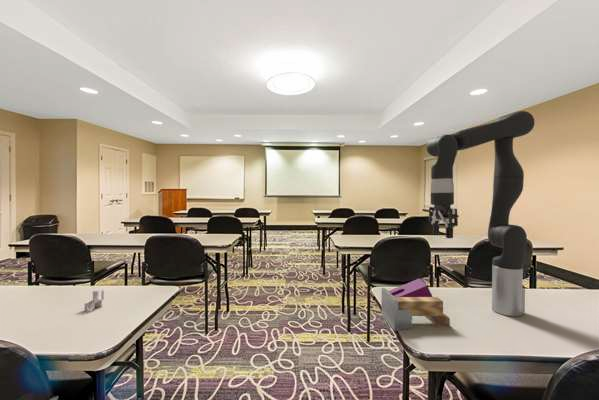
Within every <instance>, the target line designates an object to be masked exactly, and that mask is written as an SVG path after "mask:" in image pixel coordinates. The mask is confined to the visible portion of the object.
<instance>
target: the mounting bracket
mask: <svg viewBox="0 0 599 400" xmlns="http://www.w3.org/2000/svg"><path fill="white" fill-rule="evenodd" d="M388 291H389V292H390V293H391V294H392V295H393V296H394V297H433V295H432V293H431V291H430V289H429V287H428V285H427V284H426V283H425V282H424V281H423V280H422V279H421V278H416V279H415V280H412V281H410V282H407V283H405V284H403V285H400V286H396V288H393V289H391V290H388Z"/></svg>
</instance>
